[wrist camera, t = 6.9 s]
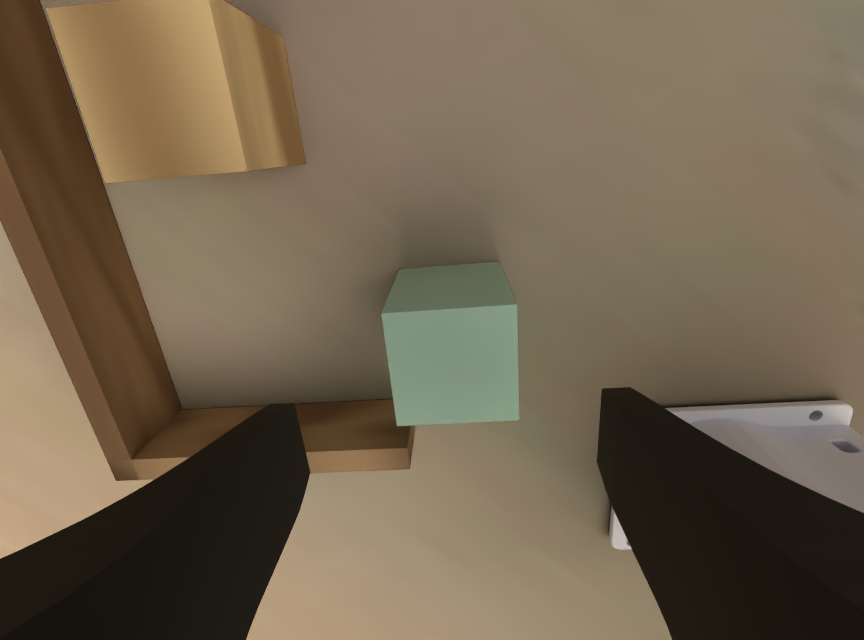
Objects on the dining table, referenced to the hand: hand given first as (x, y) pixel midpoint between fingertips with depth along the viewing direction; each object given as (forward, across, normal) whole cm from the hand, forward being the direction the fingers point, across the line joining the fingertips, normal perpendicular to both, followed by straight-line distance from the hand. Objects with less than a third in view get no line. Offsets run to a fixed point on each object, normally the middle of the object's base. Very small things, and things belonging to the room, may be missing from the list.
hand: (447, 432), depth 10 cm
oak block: (+8, +7, -8) cm, 14 cm away
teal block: (+8, 0, 0) cm, 8 cm away
